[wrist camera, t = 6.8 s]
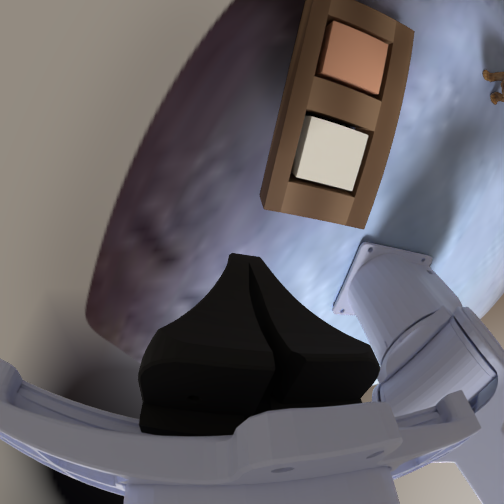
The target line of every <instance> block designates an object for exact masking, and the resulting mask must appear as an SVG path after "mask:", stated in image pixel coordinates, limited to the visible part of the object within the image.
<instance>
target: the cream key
mask: <svg viewBox="0 0 504 504" xmlns="http://www.w3.org/2000/svg"><path fill="white" fill-rule="evenodd" d="M367 139H368V135H367V134H364V133H361V132H359V131H356V130H353V129H350V128H347V127H344V126H341V125H338V124H335V123H332V122H329V121H326V120H323V119H319V118H316V117H313V116H305V117H304V121H303V125H302V129H301V133H300V137H299V141H298V145H297V149H296V153H295V157H294V161H293V165H292V169H291V172H292V173H293V174H294V175H295V176H296V177H297V178H302V179H306V180H310V181H314V182H318V183H322V184H326V185H330V186H334V187H338V188H342V189H346V190H349V191H352V190H353V187H354V184H355V180H356V177H357V174H358V171H359V167H360V164H361V160H362V157H363V153H364V150H365V146H366V143H367Z"/></svg>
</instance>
